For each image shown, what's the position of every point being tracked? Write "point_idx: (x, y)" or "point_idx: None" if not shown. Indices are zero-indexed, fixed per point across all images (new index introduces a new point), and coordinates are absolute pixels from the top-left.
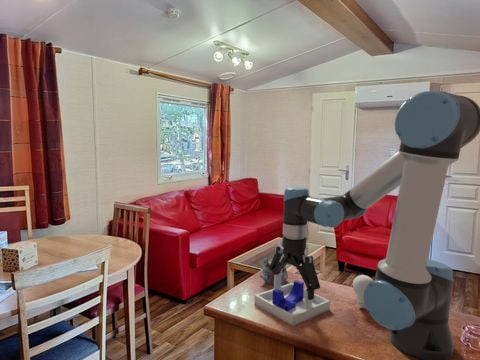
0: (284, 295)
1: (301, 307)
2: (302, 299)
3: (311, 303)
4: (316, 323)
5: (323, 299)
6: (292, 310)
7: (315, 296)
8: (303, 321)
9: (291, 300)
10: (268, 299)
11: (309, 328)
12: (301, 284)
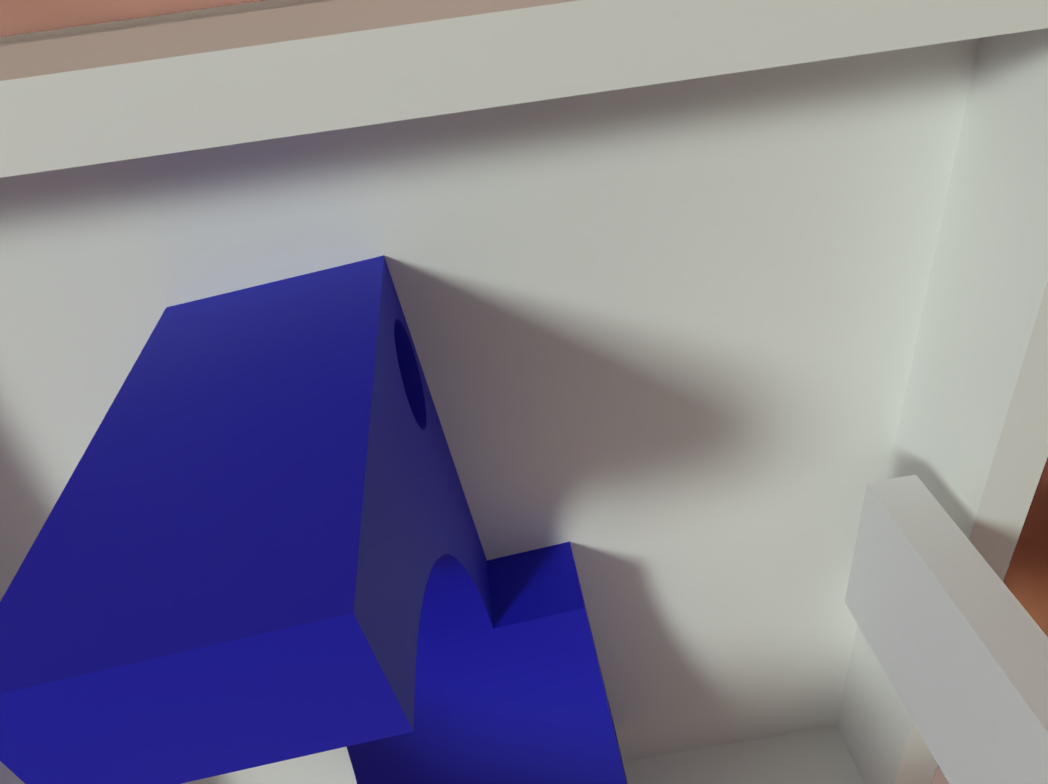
0: (25, 479)
1: (637, 469)
2: (390, 288)
3: (968, 559)
4: (1042, 471)
5: (998, 30)
6: (624, 617)
7: (657, 71)
8: None
9: (468, 626)
10: None
11: (1024, 596)
12: (405, 689)
